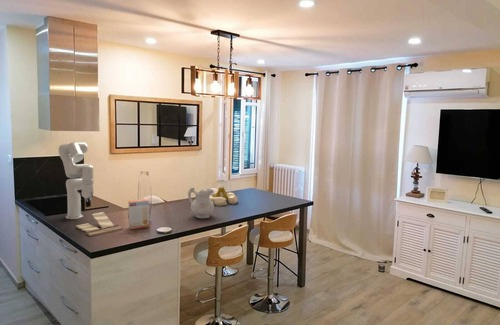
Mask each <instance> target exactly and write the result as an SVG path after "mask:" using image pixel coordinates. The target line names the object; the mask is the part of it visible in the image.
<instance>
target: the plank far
mask: <svg viewBox="0 0 500 325" xmlns="http://www.w3.org/2000/svg"><path fill="white" fill-rule="evenodd" d="M91 217H92V218H93V219H94V220H95V222H96V223H97V224H98V226H99V227H100V229H101V228H105V227H110V226H115V224H114V223H113V222H112V221H111V220H110V218H109V217H108V216H107V214H106V213H105V212H104V211H101V212H96V213H92V214H91Z"/></svg>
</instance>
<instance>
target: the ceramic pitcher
mask: <svg viewBox="0 0 500 325" xmlns="http://www.w3.org/2000/svg"><path fill="white" fill-rule="evenodd" d="M191 193H194V195H195V199H194V200H193V198H192V196H191ZM213 193H215V190H213V189H212V188H211V187H210V188H207V189H206V190H204V189H201V190H200V191H196V190H195V188H194V187H190V189H189V190H188V193H187V197H188V200H189V202H190V208H191V211H192V213H193V214H195V218H198V219H209V218H211V216H210V214H212V213H213V211H214V209H215V204H214V201H213V202H212V201H211V200H210V199H209V196H210V195H211V194H212V195H213Z"/></svg>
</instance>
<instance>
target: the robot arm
mask: <svg viewBox="0 0 500 325" xmlns="http://www.w3.org/2000/svg"><path fill="white" fill-rule="evenodd" d="M88 151H89V148H88V144H87V142H84V141H83V142H82V141H78V142H77V141H76V142H75V141H73V142H70V143H64V144H60V145H59V146H58V155H59V157H60V159H61V160H62V163H63V167H64V168H63V169H64V172H65V175H66V177H67V178H68V179H66V181H65V187H66V193H67V195H66V196H67V215H66V216H65V219H67V220H77V219H82V218H83V217H84V215H83V214H82V202H81V200H82V198H81V197H83V198H84V203H85V208H90V207H91V206H92V200H93V198H94V196H95V195H94V166H93V165H92V164H90V163H79V162H81V161H83V159H84V154H86V153H87V152H88ZM79 191H81V194H80V192H79Z"/></svg>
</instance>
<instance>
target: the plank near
mask: <svg viewBox="0 0 500 325" xmlns="http://www.w3.org/2000/svg"><path fill="white" fill-rule="evenodd" d="M75 228H77V229H79V230H81V231H83V232H84V231H85V233H86V232H87V231H92V230H96V229H100V228H98V227H97V226H94V225H93V224H90V223H89V222H88V223H83V224H82V223H81V224H78V225H76V226H75Z"/></svg>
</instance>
